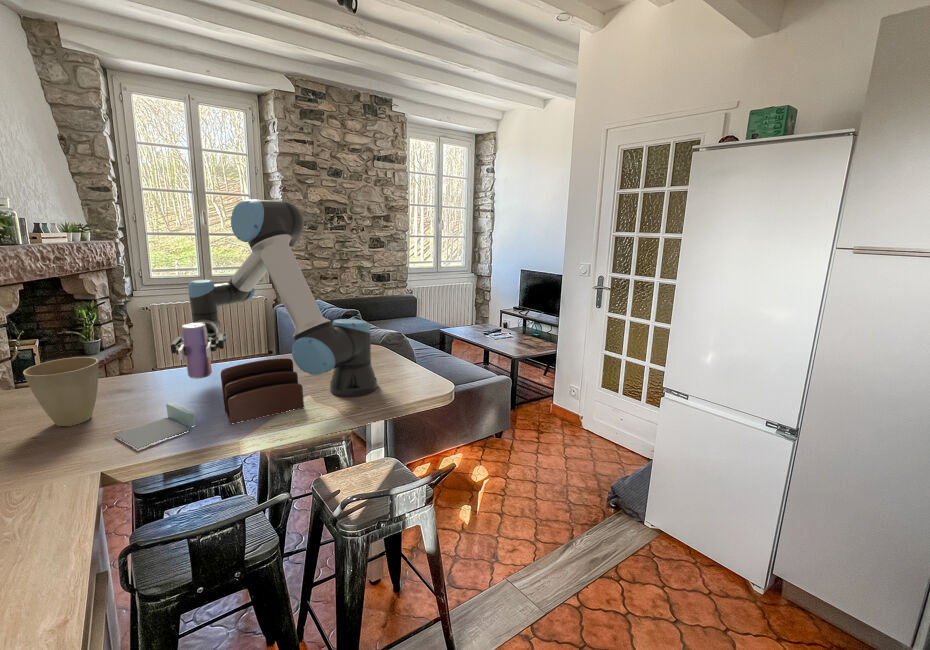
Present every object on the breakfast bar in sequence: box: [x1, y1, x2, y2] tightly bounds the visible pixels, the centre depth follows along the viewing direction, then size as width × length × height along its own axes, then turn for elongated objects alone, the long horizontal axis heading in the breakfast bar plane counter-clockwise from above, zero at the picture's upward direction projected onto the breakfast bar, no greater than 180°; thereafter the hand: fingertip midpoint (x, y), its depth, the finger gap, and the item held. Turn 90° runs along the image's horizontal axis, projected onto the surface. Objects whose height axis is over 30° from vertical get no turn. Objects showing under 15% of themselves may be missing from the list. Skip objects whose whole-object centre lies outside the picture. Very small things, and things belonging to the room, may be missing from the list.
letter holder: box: [220, 357, 305, 425], centre depth 130 cm, size 10×20×14 cm, turn 125°
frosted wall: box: [165, 401, 196, 428], centre depth 123 cm, size 12×1×4 cm, turn 58°
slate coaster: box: [114, 417, 190, 449], centre depth 116 cm, size 12×12×1 cm
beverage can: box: [181, 322, 213, 380], centre depth 128 cm, size 6×6×15 cm
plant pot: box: [22, 356, 99, 427], centre depth 121 cm, size 15×15×16 cm
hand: (194, 353), depth 123 cm, fingers closed on beverage can, 6 cm apart
